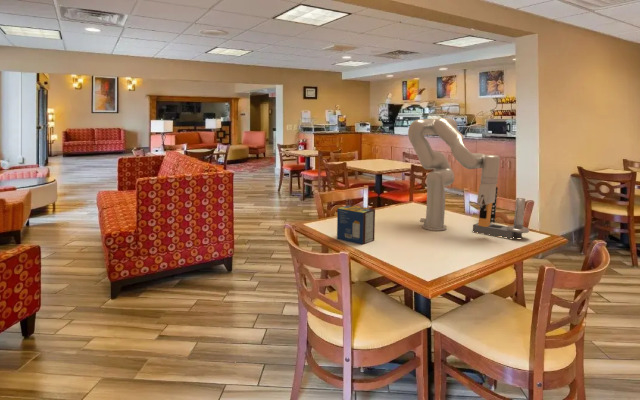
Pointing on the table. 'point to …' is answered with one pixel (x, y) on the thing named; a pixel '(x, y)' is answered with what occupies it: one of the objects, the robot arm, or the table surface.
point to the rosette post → (518, 219)
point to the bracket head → (493, 230)
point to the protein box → (355, 224)
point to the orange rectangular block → (486, 221)
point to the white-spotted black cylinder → (494, 208)
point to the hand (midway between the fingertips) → (484, 217)
